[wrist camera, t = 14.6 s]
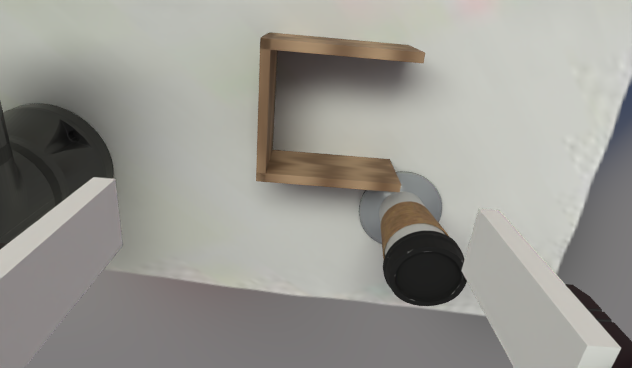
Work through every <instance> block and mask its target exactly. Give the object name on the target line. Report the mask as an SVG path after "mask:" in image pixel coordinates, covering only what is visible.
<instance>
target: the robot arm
mask: <svg viewBox="0 0 632 368" xmlns="http://www.w3.org/2000/svg"><path fill="white" fill-rule="evenodd" d="M122 246H123V241H122V233H121V224H120V215H119V206H118V197H117V189H116V180H115V179H113V166H112V161H111V157H110V154H109V151H108V149H107V147H106V145H105V143H104V142H103V140H102V139H101V137H100V136H99V135H98V133H97V132H96V131H95V130H94V129H93V128H92V127H91V126H90V125H89V124H88V123H87V122H86V121H84V120H83V119H82V118H80V117H79V116H77V115H75V114H74V113H72V112H70V111H68V110H65V109H63V108H60V107H57V106H53V105H48V104H27V105H22V106H19V107H16V108H13V109H11V110H8V111H5V112H3V110H2V106H1V102H0V368H25V367H26V365H27V364H28V363H29V362H30V360H31V359H32V358H33V357H34V355H35V354H36V353H37V352H38V350H39V349H40V348H41V347H42V346H43V344H44V343H45V342H46V340H47V339H48V338H49V337H50V335H51V334H52V333H53V332H54V331H55V329H56V328H57V327H58V325H59V324H60V323H61V322H62V321H63V319H64V318H65V317H66V316H67V314H68V313H69V312H70V311H71V309H72V308H73V307H74V306H75V304H76V303H77V302H78V300H79V299H80V298H81V297H82V296H83V294H84V293H85V292H86V291H87V289H88V288H89V287H90V286H91V284H92V283H93V282H94V281H95V279H96V278H97V277H98V276H99V274H100V273H101V272H102V271H103V269H104V268H105V267H106V266H107V265H108V263H109V262H110V261H111V260H112V258H113V257H114V256H115V255H116V253H117V252H118V251H119V250H120V248H121V247H122ZM462 273H463V275H464V276H465V278H466V280H467V282H468V284H469V286H470V288H471V289H472V291H473V293H474V295H475V297H476V299H477V300H478V302H479V304H480V306H481V308H482V310H483V312H484V313H485V315H486V317H487V319H488V321H489V322H490V324H491V326H492V328H493V330H494V332H495V333H496V336H497V337H498V339H499V341H500V343H501V344H502V347H503V348H504V350H505V352H506V354H507V356H508V358H509V359H510V361H511V363H512V365H513V367H514V368H632V341H631V340H630V339H629V338H628V337H627V336H626V335H625V334H624V333H623V332H622V331H621V330H620V328H619V327H618V326H617V325H616V324H615V323H613V322H611V319H610V318H609V317H608V316H607V314H605V312H602V309H601V308H600V307H599V306H598V305H597V304H596V303H595V302H594V301H593V300H592V299H591V297H590V296H588V295H587V294H585V293H584V292H582V291H581V290H579V289H578V288H577V287H575V286H574V285H568V284H564V283H563V282H562V280H561V279H560V278H559V277H558V276H557V275H556V274H555V272H554V271H553V270H552V269H551V268H550V267H549V266H548V265H547V263H546V262H545V261H544V260H543V259H542V258H541V257H540V256H539V254H538V253H537V252H536V251H535V250H534V249H533V248H532V247H531V245H530V244H529V243H528V242H527V241H526V240H525V239H524V237H523V236H522V235H521V234H520V233H519V232H518V231H517V230H516V228H515V227H514V226H513V225H512V224H511V223H510V222H509V221H508V219H507V218H506V217H505V216H504V215H503V214H502V213H501V211H500V210H493V209H481V208H479V209H478V213H477V216H476V220H475V223H474V227H473V231H472V234H471V238H470V242H469V245H468V249H467V253H466V256H465V260H464V264H463V267H462Z"/></svg>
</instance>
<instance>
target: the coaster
mask: <svg viewBox="0 0 632 368" xmlns="http://www.w3.org/2000/svg"><path fill="white" fill-rule="evenodd" d="M396 174H397V176H398V178H399V181H400V183H401V188H400V192H401V191H402V192H410V193H413V194H414V195H416V196H417V197H418V198H419V199H420V200H421V201H422V203H423V204H424V205H425V207H426V208H427V209H428V210H429V212H430V213H431V214H432V215H433V217H434V218H435V219H436V220H437V222H439V220H440V217H441V212H442V202H441V198H440V195H439V193H438V191H437V189H436V188H435V186H434V185H433V184H432V183H431V182H430V181H429V180H428V179H426V178H425V177H423V176H421V175H419V174H416V173H412V172H396ZM393 193H396V192H388V191H375V190H366V191H365V192H364V194H363V196H362V199H361V201H360V206H359V216H360V220H361V224H362V226H363V228H364V230H365V231H366V233H367V234H368V235H369V236H370V237H371V238H372V239H374V240H375V241H377V242H379V243H381V244H382V237H381V224H380V217H379V209H380V206H381V204H382V202H383V201H384V200H385V198H387V197H388V196H389V195H391V194H393Z"/></svg>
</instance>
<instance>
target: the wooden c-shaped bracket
mask: <svg viewBox="0 0 632 368" xmlns="http://www.w3.org/2000/svg"><path fill="white" fill-rule="evenodd" d="M277 50H280V51H292V52H303V53H314V54H325V55H336V56H347V57H359V58H370V59H381V60H392V61H403V62H414V63H423V62H424V57H425V52H423V51H420V50H418V49H416V48H414V47H412V46H409V45H401V44H390V43H379V42H368V41H357V40H346V39H335V38H324V37H313V36H302V35H291V34H280V33H268V34H266V35H264V36H263V37H261V39H260V72H259V105H258V137H257V170H256V181H261V182H274V183H286V184H299V185H312V186H324V187H337V188H350V189H362V190H375V191H388V192H400V188H401V183H400V181H399V178H398V176H397V174H396V172H395V170H394V168H393V166H392V164H391V161H390V159H379V158H367V157H354V156H342V155H330V154H318V153H305V152H293V151H281V150H273V133H274V111H275V89H276V68H277Z"/></svg>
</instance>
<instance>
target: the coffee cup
mask: <svg viewBox="0 0 632 368" xmlns="http://www.w3.org/2000/svg"><path fill="white" fill-rule="evenodd" d="M379 217H380V224H381V237H382V248H383V258H384V262H383V271H384V277H385V279H386V282H387V284H388V285H389V286H390V288H391V289H392V291H393V292H394V294H395V295H396V296H397V297H398V298H400V299H401V300H403V301H405V302H407V303H410V304H413V305H419V306H434V305H439V304H443V303H446V302H449V301H450V300H452V299H454V298H455V297H457V296H458V295H459V294H460V292H461V291H462V290H463V288H464V286H465V284H466V282H467V280H466V278H465V276H464V275H463V273H462V267H463V264H464V257H463V254H462V252H461V250H460V248H459V247H458V245H457V243H456V242H455V241H454V240H453V239H452V238H450V237H449V236H448V234H447V233H446V232H445V230H444V229H443V228H442V227H441V225H440V224H439V223H438V222H437V220H436V219H435V218H434V217H433V215H432V214H431V213H430V212H429V210H428V209H427V208H426V207H425V205H424V204H423V203H422V201H421V200H420V199H419V198H418V197H417V196H416V195H414V194H413V193H410V192H402V191H401V192H396V193H393V194H391V195H389V196H388V197H387V198H385V200H384V201H383V202H382V204H381V206H380V209H379Z"/></svg>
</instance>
